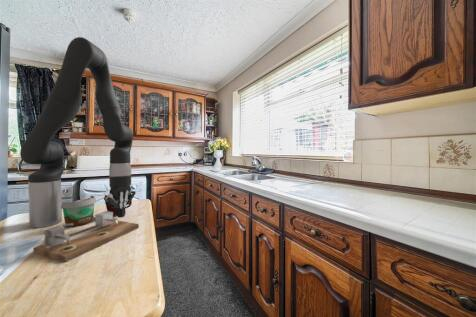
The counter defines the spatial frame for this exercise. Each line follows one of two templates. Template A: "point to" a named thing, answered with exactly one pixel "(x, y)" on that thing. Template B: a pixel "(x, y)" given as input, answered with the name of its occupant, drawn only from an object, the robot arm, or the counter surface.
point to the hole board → (80, 240)
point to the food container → (78, 212)
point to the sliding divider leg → (105, 219)
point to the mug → (113, 208)
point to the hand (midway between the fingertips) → (121, 216)
